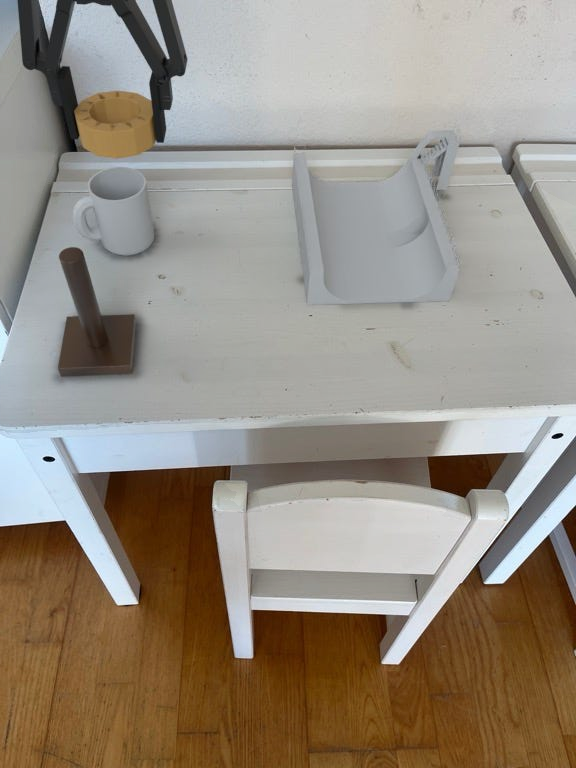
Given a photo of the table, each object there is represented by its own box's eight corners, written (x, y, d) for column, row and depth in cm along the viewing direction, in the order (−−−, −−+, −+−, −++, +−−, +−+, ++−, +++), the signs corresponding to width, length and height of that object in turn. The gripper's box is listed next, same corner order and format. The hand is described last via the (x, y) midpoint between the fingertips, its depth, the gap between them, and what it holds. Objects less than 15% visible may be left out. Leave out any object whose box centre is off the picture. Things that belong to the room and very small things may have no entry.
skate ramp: (292, 185, 95) (295, 123, 87) (439, 183, 97) (456, 122, 89) (307, 304, 80) (312, 243, 72) (481, 300, 82) (505, 239, 74)
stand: (60, 376, 72) (23, 284, 60) (69, 324, 77) (36, 229, 65) (132, 373, 73) (108, 281, 61) (136, 322, 77) (115, 227, 66)
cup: (161, 249, 86) (153, 193, 78) (88, 267, 83) (72, 212, 76) (147, 217, 89) (137, 161, 82) (76, 234, 87) (59, 178, 80)
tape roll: (65, 137, 68) (58, 110, 66) (123, 108, 73) (118, 83, 70) (115, 167, 65) (110, 140, 63) (173, 136, 70) (170, 110, 67)
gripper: (208, -131, 54) (219, 119, 72) (-46, -146, 53) (28, 111, 71) (202, -103, 49) (214, 157, 67) (-77, -119, 48) (11, 149, 66)
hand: (119, 134), depth 69 cm, fingers closed on tape roll, 8 cm apart
